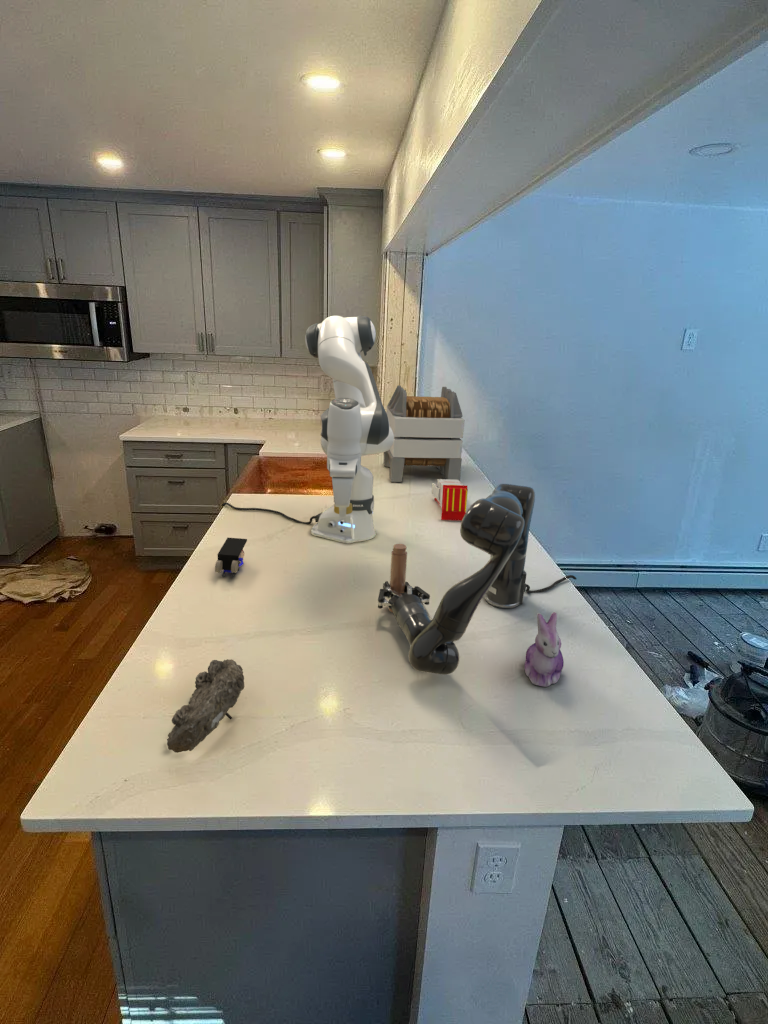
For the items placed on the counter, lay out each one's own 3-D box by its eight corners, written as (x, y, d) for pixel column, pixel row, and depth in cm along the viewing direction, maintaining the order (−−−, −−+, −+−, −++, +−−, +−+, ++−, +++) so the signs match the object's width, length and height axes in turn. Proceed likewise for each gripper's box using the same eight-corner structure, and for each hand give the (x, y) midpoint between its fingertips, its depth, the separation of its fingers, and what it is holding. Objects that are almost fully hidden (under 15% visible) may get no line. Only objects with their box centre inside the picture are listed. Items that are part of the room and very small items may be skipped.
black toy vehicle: (238, 584, 162) (249, 557, 175) (236, 562, 158) (247, 536, 172) (215, 584, 161) (227, 556, 175) (212, 561, 158) (225, 535, 171)
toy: (459, 475, 239) (472, 486, 210) (457, 506, 242) (469, 522, 212) (430, 474, 239) (439, 485, 209) (429, 505, 241) (437, 521, 212)
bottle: (396, 614, 147) (400, 550, 141) (385, 609, 150) (388, 545, 143) (406, 609, 150) (410, 546, 144) (395, 603, 152) (399, 541, 146)
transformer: (382, 463, 289) (386, 382, 275) (445, 464, 293) (451, 384, 279) (390, 482, 257) (394, 392, 243) (460, 483, 261) (468, 394, 247)
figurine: (543, 694, 119) (553, 631, 114) (511, 667, 127) (519, 608, 122) (576, 682, 123) (587, 622, 118) (543, 657, 131) (552, 600, 126)
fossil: (192, 660, 117) (244, 628, 112) (224, 691, 120) (276, 661, 115) (142, 746, 98) (202, 712, 93) (182, 779, 101) (242, 748, 96)
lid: (336, 507, 155) (336, 500, 154) (353, 509, 154) (354, 502, 153) (332, 513, 150) (332, 506, 149) (350, 515, 150) (350, 508, 149)
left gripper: (334, 452, 157) (333, 500, 162) (329, 472, 138) (328, 525, 143) (356, 453, 157) (355, 500, 162) (355, 473, 138) (354, 526, 143)
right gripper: (442, 600, 135) (421, 569, 151) (384, 604, 132) (368, 572, 147) (439, 627, 138) (419, 594, 153) (382, 632, 134) (367, 598, 150)
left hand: (343, 512), depth 152 cm, fingers closed on lid, 4 cm apart
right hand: (394, 584), depth 150 cm, fingers closed on bottle, 4 cm apart
